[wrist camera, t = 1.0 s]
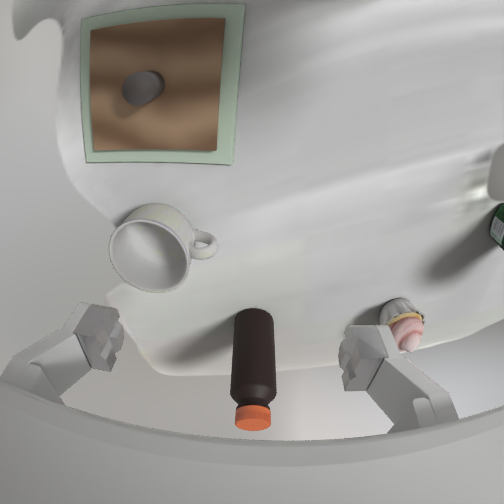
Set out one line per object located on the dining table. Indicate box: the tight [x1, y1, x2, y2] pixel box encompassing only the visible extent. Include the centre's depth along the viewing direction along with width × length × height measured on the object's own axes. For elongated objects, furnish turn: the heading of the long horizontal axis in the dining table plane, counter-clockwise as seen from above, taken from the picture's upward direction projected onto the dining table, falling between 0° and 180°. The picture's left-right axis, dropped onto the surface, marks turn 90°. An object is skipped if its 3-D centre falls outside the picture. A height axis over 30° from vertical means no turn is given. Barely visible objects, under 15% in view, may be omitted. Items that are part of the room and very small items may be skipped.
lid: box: [90, 18, 225, 151], centre depth 28 cm, size 16×16×5 cm
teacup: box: [109, 203, 218, 293], centre depth 39 cm, size 14×11×8 cm
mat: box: [80, 3, 245, 165], centre depth 31 cm, size 20×20×1 cm
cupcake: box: [380, 298, 425, 352], centre depth 48 cm, size 9×9×10 cm
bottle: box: [230, 309, 277, 431], centre depth 46 cm, size 7×7×20 cm
